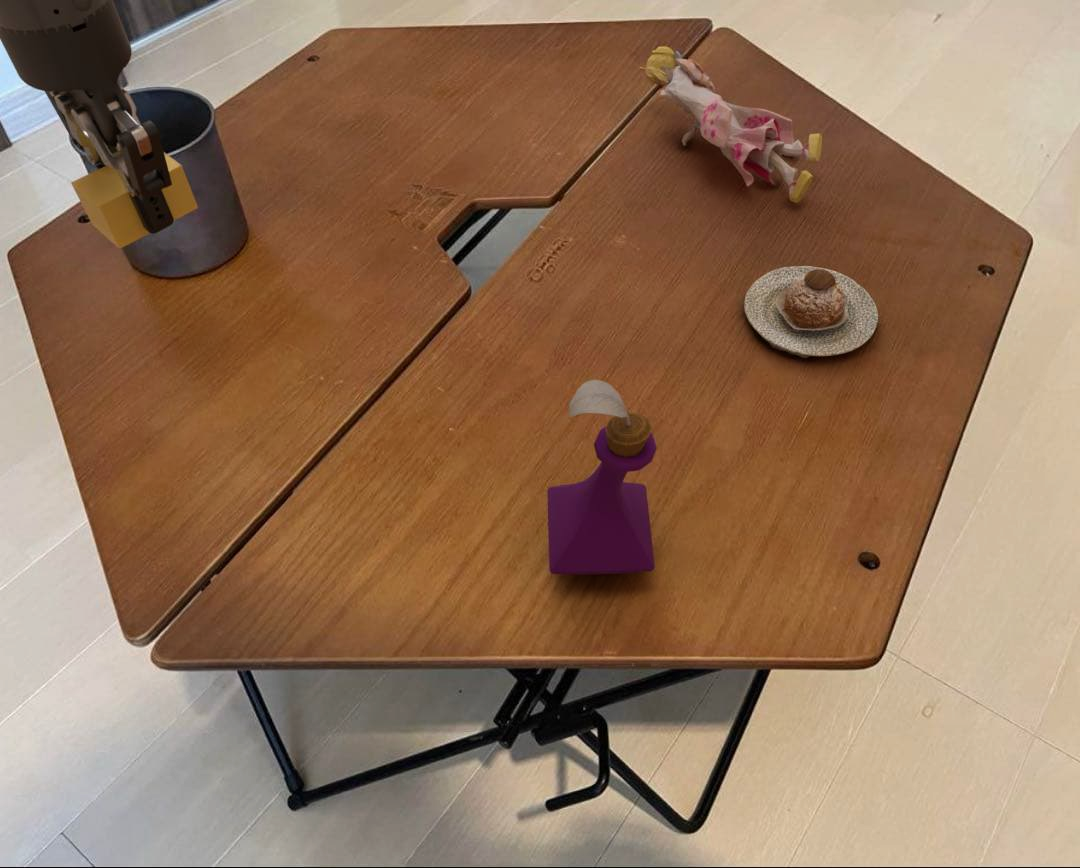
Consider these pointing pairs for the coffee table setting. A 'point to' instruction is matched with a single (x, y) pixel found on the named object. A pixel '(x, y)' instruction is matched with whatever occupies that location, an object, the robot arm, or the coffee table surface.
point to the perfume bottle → (604, 495)
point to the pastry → (810, 311)
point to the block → (127, 202)
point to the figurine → (733, 123)
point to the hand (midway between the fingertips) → (144, 213)
